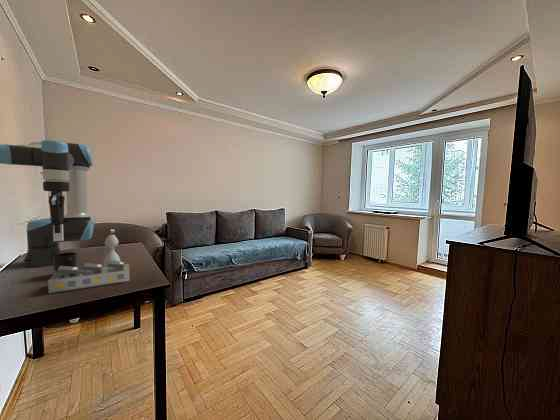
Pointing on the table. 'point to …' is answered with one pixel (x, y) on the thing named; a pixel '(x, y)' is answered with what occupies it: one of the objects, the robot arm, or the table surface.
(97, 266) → the switch
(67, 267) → the switch
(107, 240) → the figurine
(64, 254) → the mug
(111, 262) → the switch
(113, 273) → the console
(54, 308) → the table surface
